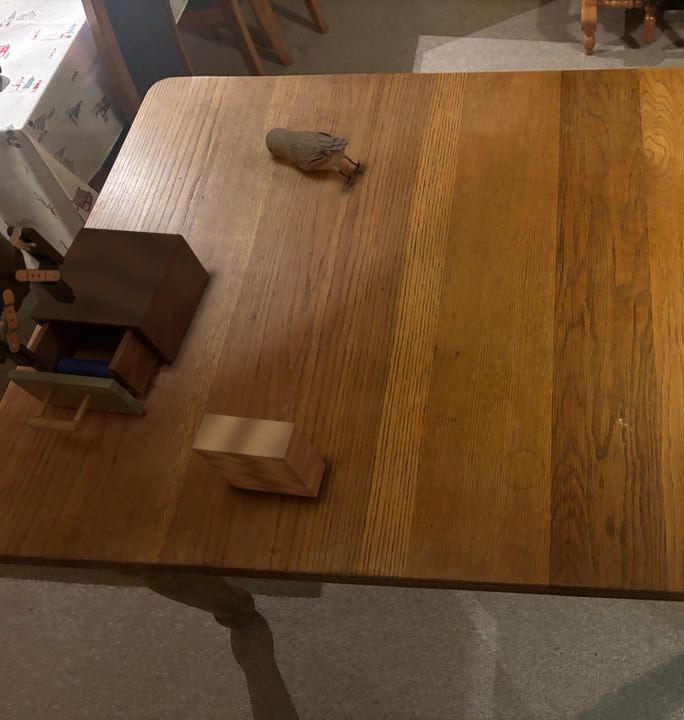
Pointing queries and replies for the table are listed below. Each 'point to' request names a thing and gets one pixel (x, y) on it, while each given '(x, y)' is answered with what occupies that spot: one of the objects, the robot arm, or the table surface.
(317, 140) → the decorative bird
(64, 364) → the blue cylinder
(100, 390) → the drawer
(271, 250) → the table surface
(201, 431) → the wooden block
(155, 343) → the cabinet
